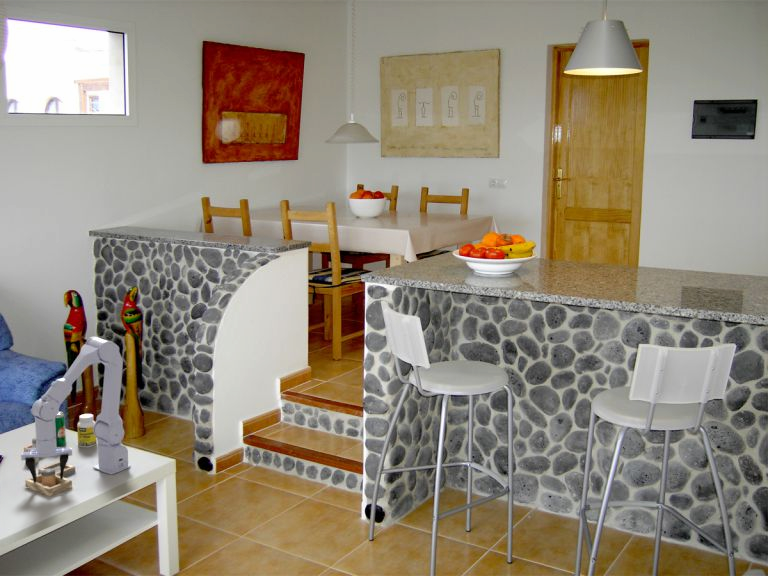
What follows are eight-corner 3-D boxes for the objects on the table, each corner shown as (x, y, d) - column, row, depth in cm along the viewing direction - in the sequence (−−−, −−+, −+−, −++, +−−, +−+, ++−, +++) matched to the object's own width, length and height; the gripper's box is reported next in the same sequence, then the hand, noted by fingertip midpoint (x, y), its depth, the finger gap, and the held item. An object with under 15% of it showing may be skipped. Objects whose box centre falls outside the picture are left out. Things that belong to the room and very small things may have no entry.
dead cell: (48, 452, 282) (47, 438, 281) (37, 456, 279) (36, 442, 278) (40, 450, 284) (40, 436, 283) (30, 453, 281) (29, 439, 280)
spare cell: (41, 463, 275) (40, 449, 274) (30, 467, 271) (30, 452, 270) (34, 460, 277) (33, 446, 276) (23, 464, 273) (22, 450, 272)
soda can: (60, 448, 287) (59, 416, 285) (47, 447, 288) (45, 414, 286) (69, 443, 292) (67, 411, 290) (56, 442, 293) (54, 410, 291)
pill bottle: (77, 449, 287) (76, 419, 285) (78, 443, 293) (77, 413, 291) (96, 448, 289) (94, 418, 287) (97, 441, 295) (95, 412, 293)
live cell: (55, 488, 256) (54, 473, 255) (41, 489, 255) (40, 474, 254) (56, 483, 260) (55, 468, 259) (43, 484, 259) (42, 469, 258)
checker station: (93, 478, 263) (93, 472, 263) (49, 496, 250) (49, 489, 250) (60, 466, 272) (59, 459, 272) (15, 482, 259) (15, 476, 259)
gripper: (71, 430, 260) (73, 471, 262) (21, 435, 255) (24, 476, 258) (70, 438, 253) (73, 480, 256) (19, 443, 249) (22, 485, 251)
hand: (48, 479), depth 256 cm, fingers open, 7 cm apart
